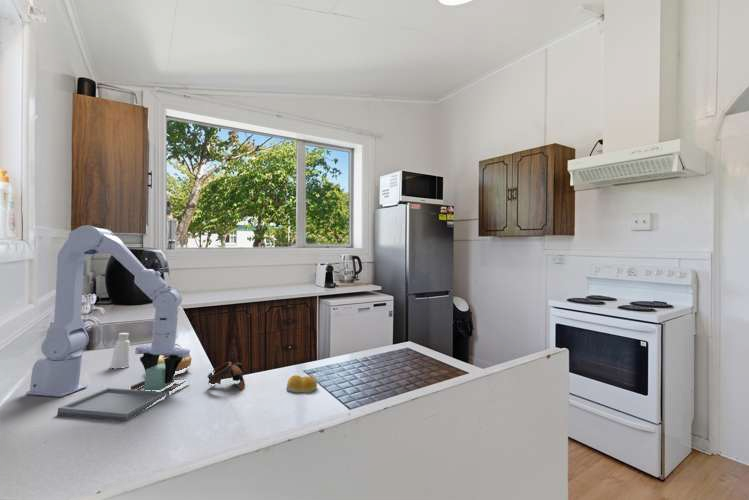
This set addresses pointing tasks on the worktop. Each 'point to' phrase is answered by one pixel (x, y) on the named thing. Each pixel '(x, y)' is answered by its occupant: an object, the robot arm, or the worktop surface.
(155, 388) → the teal block
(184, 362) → the pastry
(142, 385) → the dark bent strip
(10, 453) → the worktop surface
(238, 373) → the brown piece
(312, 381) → the bread roll
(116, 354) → the salt shaker
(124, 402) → the grey tray
